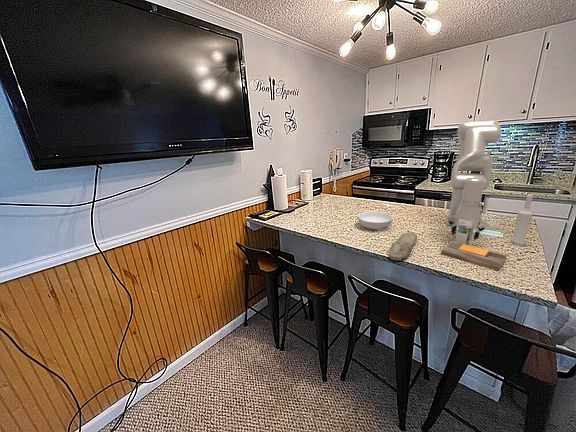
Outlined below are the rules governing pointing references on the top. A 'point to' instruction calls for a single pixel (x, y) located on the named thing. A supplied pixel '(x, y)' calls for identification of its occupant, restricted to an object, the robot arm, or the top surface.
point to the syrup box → (464, 232)
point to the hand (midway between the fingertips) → (464, 236)
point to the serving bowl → (375, 219)
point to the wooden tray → (475, 256)
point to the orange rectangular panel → (474, 250)
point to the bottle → (522, 223)
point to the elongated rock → (402, 246)
